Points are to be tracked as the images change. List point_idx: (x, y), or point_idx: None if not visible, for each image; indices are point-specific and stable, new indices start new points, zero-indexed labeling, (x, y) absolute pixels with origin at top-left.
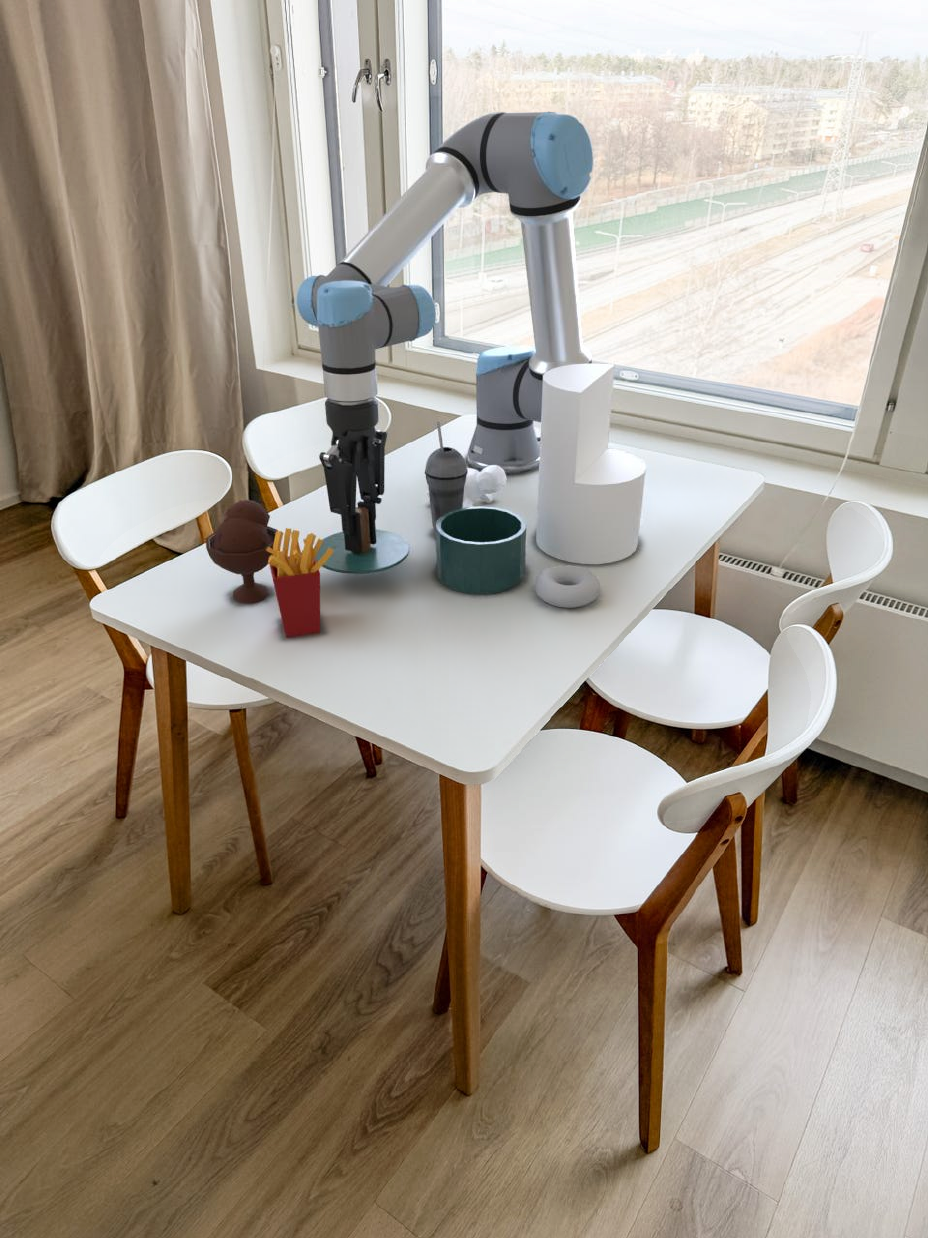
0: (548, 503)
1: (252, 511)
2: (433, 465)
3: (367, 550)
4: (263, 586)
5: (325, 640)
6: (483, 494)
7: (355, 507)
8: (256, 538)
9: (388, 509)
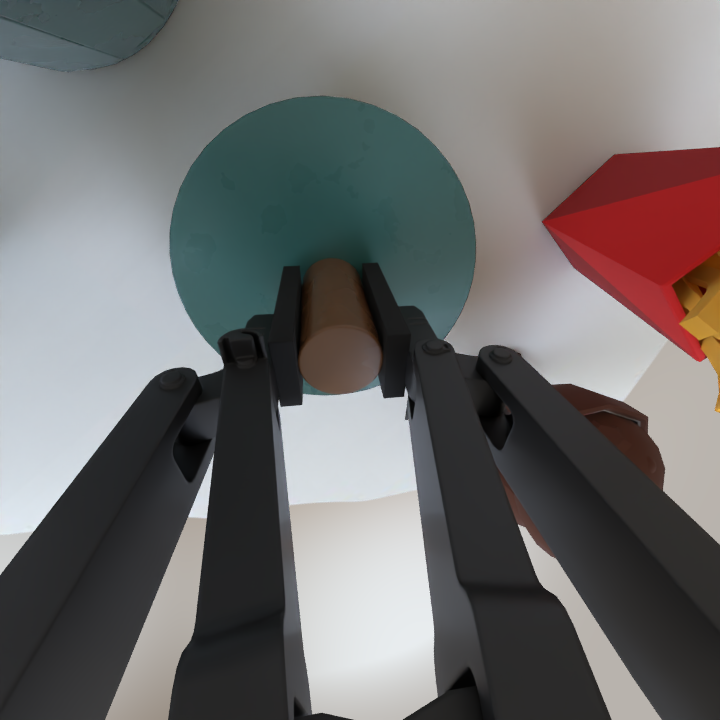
0: None
1: None
2: None
3: (337, 259)
4: None
5: (650, 111)
6: None
7: (418, 358)
8: (636, 442)
9: (37, 420)
